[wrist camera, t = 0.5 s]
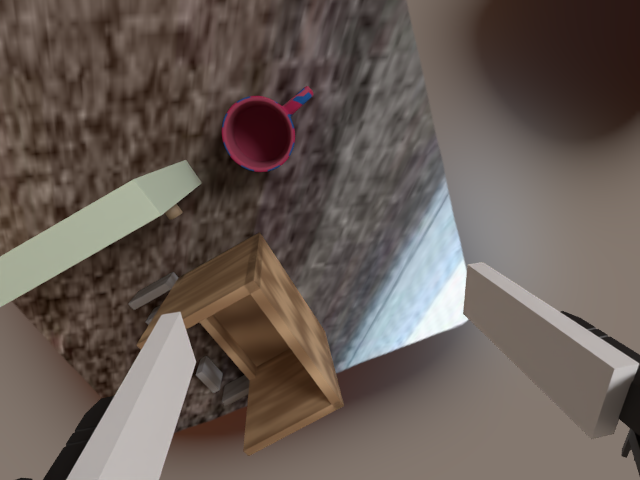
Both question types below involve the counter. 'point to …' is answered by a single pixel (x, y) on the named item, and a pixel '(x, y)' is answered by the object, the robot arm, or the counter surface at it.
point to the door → (94, 228)
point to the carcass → (254, 338)
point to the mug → (261, 131)
